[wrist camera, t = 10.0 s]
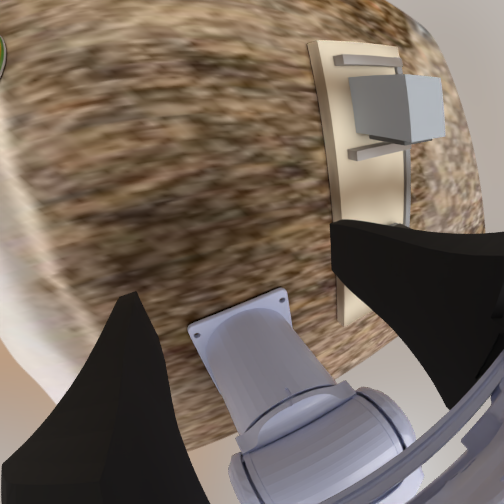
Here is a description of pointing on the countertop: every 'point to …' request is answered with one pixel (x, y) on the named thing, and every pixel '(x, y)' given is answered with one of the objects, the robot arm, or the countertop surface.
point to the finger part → (398, 107)
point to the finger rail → (358, 149)
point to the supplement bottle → (2, 55)
